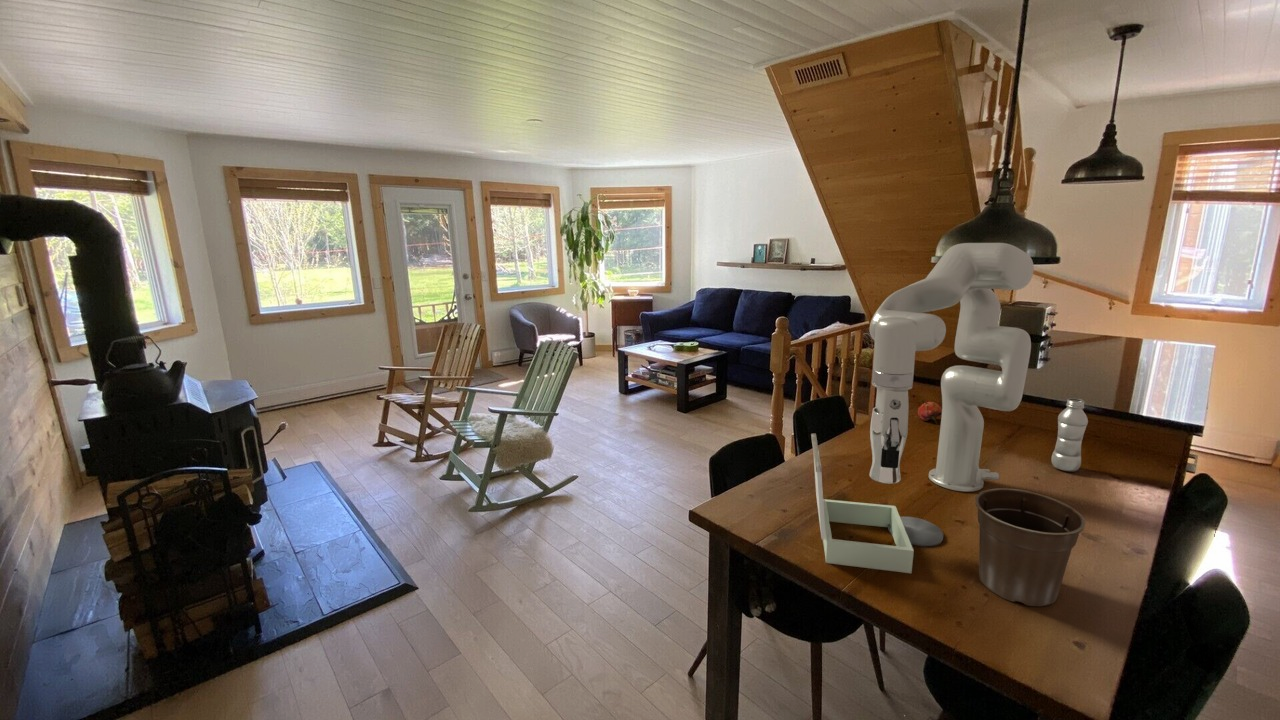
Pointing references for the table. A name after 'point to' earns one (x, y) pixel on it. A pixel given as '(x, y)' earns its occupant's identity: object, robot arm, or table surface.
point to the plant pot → (1025, 544)
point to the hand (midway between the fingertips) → (886, 459)
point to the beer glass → (877, 444)
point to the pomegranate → (929, 411)
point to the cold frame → (867, 553)
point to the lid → (818, 485)
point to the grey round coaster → (921, 531)
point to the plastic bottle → (1070, 436)
